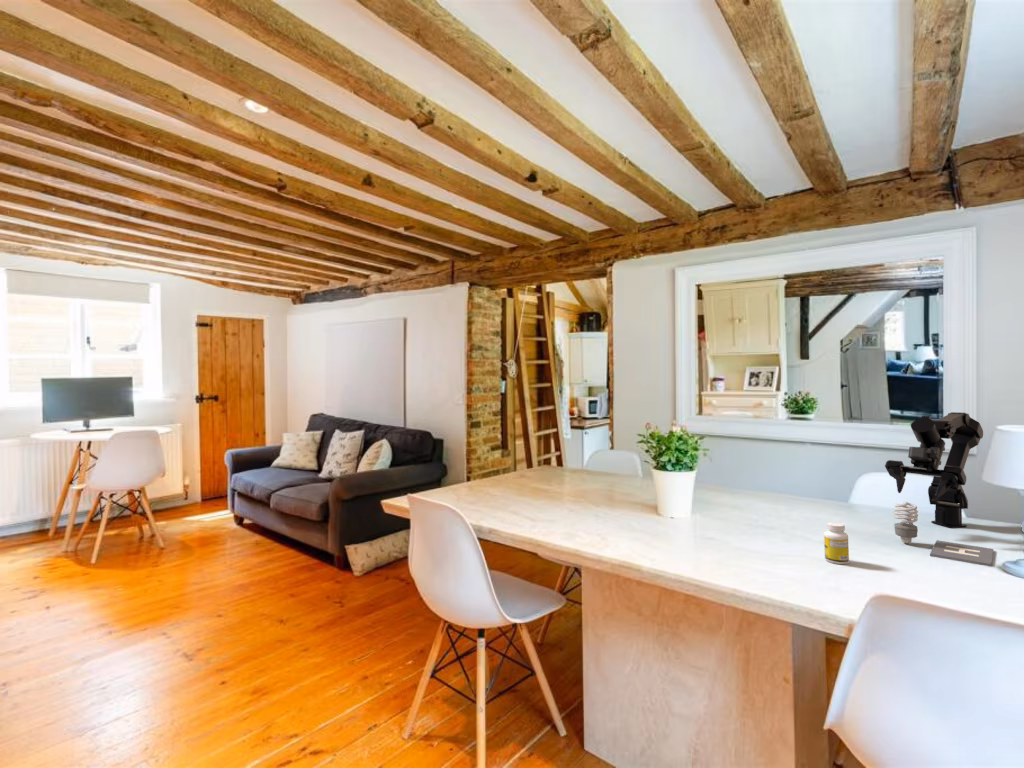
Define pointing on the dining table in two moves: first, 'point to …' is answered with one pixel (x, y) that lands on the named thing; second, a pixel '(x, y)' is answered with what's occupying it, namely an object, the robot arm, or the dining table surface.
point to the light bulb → (906, 522)
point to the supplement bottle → (836, 544)
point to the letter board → (962, 552)
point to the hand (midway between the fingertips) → (917, 494)
